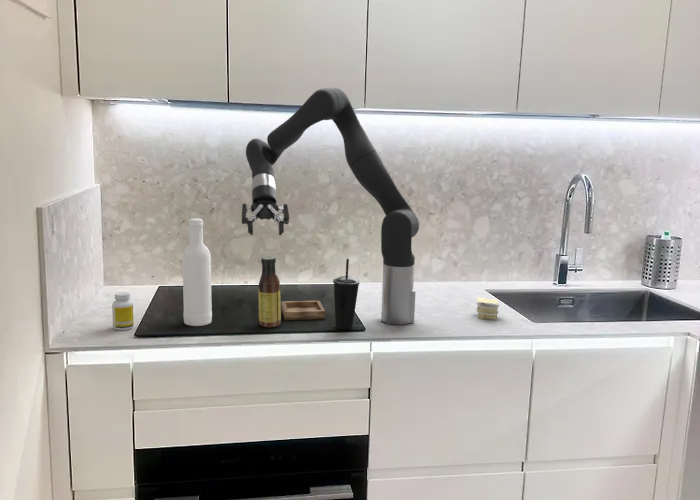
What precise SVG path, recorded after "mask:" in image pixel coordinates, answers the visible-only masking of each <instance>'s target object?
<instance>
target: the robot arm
mask: <svg viewBox="0 0 700 500" xmlns="http://www.w3.org/2000/svg"><path fill="white" fill-rule="evenodd" d="M330 120H331V121H333V123H334V125H335V126H336V128H337V129H338V131H339V132H340V134H341V136H342V139H343V145H344V154H345V159H346V163H347V165H348V167H349V169H350V170H351V172H352V174H353V175H354V177H355V179H356V180H357V182H358V183H359V184H360V185H361V186H362V187H363V189H365V191H367V192H368V193H369V194H370V195H371V196H372V197H373V198H374V199H375V201H376V202H377V203H378V204H379V206H380V207H381V209H382V211H383V212H384V214H385V216H384V217H383V219H382V222H381V228H380V232H381V233H380V240H381V241H380V242H381V243H380V245H381V246H380V247H381V248H380V251H381V255H382V281H381V283H382V285H381V289H382V290H381V314H380V315H381V316H380V320H381V322H383V323H386V324H390V325H406V324H410V323H415V312H416V311H415V309H416V291H415V290H414V285H415V284H414V281H415V259H416V257H415V255H414V253H413V251H412V238H414V237H415V236H416V235H417V234H418V232H419V230H420V222H419V218H418V216H417V214H416V213H415V211H414V210H413V209H412V207H411V206H410V204H409V203H408V202H407V200H406V199H405V198H404V196H403V194H402V193H401V192H400V191H399V189H398V187H397V185H396V183H395V181H394V180H393V178H392V175H391V174H390V172H389V171H388V169H387V167H386V166H385V163H384V162H383V160H382V158H381V156H380V155H379V153H378V152H377V150H376V148H375V147H374V145H373V143H372V142H371V140H370V138H369V136H368V134H367V133H366V131H365V130H364V128H363V126H362V125H361V123H360V121H359V118H358V116H357V114H356V112H355V110H354V106H353V105H352V103H351V101H350V99H349V97H348V95H347V94H346V92H344V91H343V90H342V89H341V88H339V87H326V88H325V87H323V88H320V89H317V90H315V91H314V92H313V93H312V94H311V95H310V96H309V97H308V98H307V99H306V100H305V102H304V103H303V104H302V105H301V107H300V108H298V110H297V111H295V113H293V115H291V116H290V117H289V118H288V119H286V120H285V121H284V122H283V123H281V124H280V125H278V127H276V128H275V129H273V130H272V131H270V132H269V134H268V135H267V138H266V141H267V142H265V141H264V140H262V139H260V138H252V139H251V140H249V142H248V143H247V145H246V148H245V156H246V160H247V162H248V165H249V167H250V170H251V180H252V181H251V202H252V203H251V205H247V204H246V203H242V207H241V224H243V225H244V224H245V225H247V233H248V234H250V236H254V227H253V225H254V223H255V222H256V221H258V219H259V220H273V222H275V223H277V224H278V227H277V228H278V235H279V236H282V234H284V231H285V228H284V226H285V225H289V223H290V213H289V207H288V204H286V203H283V205H278V200H277V185H276V180H275V170H274V167H273V166H274V165H275V163H277V161H278V160H279V158H280V157H281V155H282V154H283V153H284V152H285V150H287V149H288V148H290V147H291V146H292V145H294V144H295V143H296V142H298V141H299V140H300V138H301V137H302V136H303V134H304V132H305V131H307V130H308V129H309V128H310V127H311V126H313V125H315V124H318V123H320V122H322V121H330ZM250 211H251V212H252V213H251V215H250V216H249V217H247V214H248V213H249V212H250ZM279 212H280V213H281V214H283V217H282V216H281V215H280V213H279Z"/></svg>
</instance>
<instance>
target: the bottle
mask: <svg viewBox="0 0 700 500" xmlns="http://www.w3.org/2000/svg"><path fill="white" fill-rule="evenodd" d="M203 221H204V220H203V219H202V218H199V217H198V218H197V217H196V218H190V219H189V222H188V226H189V244H188V245H187V246H186V247H185V248H184V249H183V254H182V281H183V282H182V289H183V291H182V293H183V294H182V296H183V298H182V299H183V323H184V324H185V325H187V326H190V327H201V326H202V327H203V326H206V325H210V324H211V323H212V321H213V320H212V319H213V311H212V309H213V307H212V255H211V252H210V250H209V248H208V247H207V246H206V244H204V231H203V230H204V229H203V228H204V222H203Z"/></svg>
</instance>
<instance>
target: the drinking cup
mask: <svg viewBox="0 0 700 500" xmlns="http://www.w3.org/2000/svg"><path fill="white" fill-rule="evenodd" d="M345 260H346V261H345V262H346V263H345V264H346V265H345V275H344V276H342V275H341V276H339V277H337V278H334V279H333V280H332V282H333V293H334V294H333V297H334V320H335V325H334V326H335V329H338V330H352V329H353V324H354V317H355V312H356V305H357V300H358V299H357V298H358V292H359V286H360V284H361V281H360V280H359V279H357V278H356V277H352V276H350V275H349V266H350V264H349V263H350V258H346V259H345Z"/></svg>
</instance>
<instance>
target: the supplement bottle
mask: <svg viewBox="0 0 700 500" xmlns="http://www.w3.org/2000/svg"><path fill="white" fill-rule="evenodd" d="M130 298H131V293H130V292H127V291H120V292H115V293H114V300H115V301H113V302H112V305H111V308H112V312H111V313H112V327H113V328H112V329H114V330H115V331H126V330H127V331H128V330H131V329H133V328H134V325H135V324H134V323H135V322H134V304H133V301H132V300H130Z"/></svg>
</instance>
